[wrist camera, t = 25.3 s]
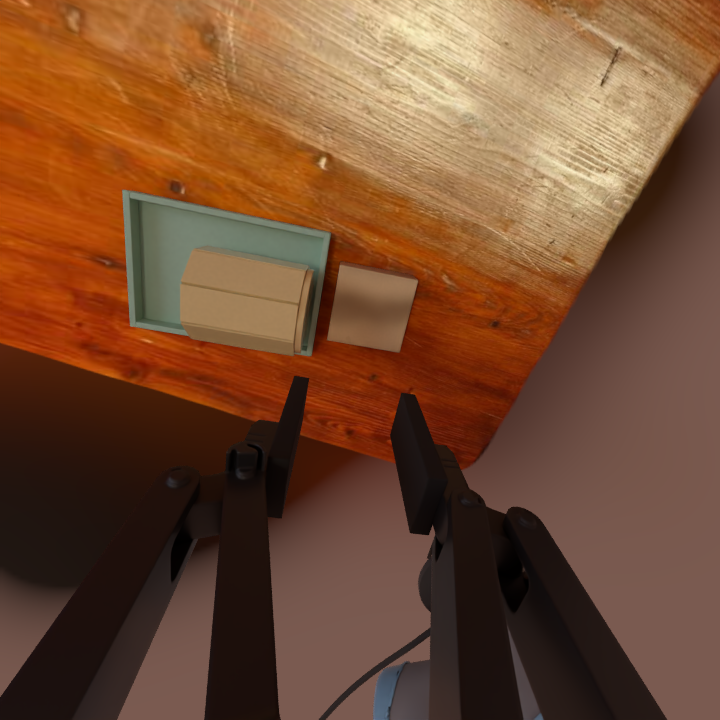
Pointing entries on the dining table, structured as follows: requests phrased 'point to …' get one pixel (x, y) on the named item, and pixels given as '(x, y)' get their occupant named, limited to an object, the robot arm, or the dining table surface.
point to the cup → (246, 300)
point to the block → (371, 307)
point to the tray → (197, 229)
